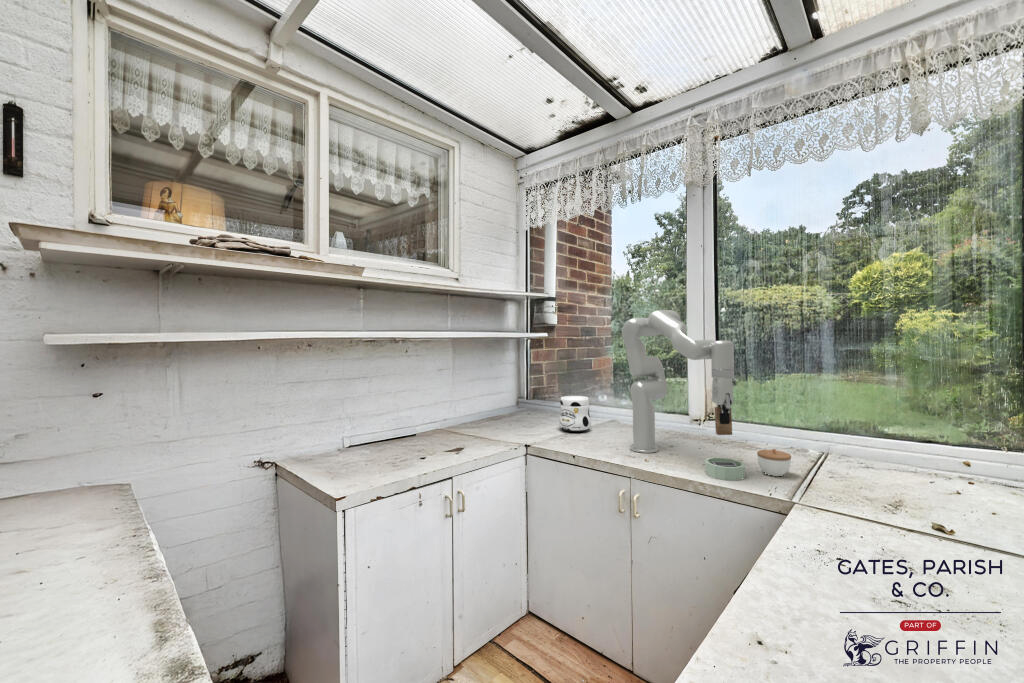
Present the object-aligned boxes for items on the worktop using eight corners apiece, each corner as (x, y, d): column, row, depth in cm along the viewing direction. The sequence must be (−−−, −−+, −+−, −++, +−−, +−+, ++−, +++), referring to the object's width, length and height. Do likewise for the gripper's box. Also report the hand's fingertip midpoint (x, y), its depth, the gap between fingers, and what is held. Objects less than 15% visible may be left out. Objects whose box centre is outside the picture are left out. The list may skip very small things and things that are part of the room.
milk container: (558, 433, 227) (557, 400, 227) (560, 426, 244) (559, 395, 244) (591, 434, 225) (590, 400, 224) (590, 427, 242) (590, 395, 241)
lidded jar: (796, 479, 152) (796, 453, 152) (763, 478, 155) (763, 452, 154) (783, 470, 163) (783, 445, 163) (753, 469, 165) (753, 444, 165)
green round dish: (701, 468, 167) (701, 456, 167) (736, 469, 165) (736, 457, 165) (711, 479, 154) (711, 467, 154) (750, 480, 152) (750, 468, 152)
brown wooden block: (715, 433, 161) (714, 406, 160) (729, 433, 160) (728, 406, 160) (717, 435, 158) (716, 408, 158) (732, 434, 157) (731, 407, 157)
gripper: (705, 371, 167) (706, 418, 167) (719, 375, 151) (719, 427, 152) (726, 371, 166) (726, 419, 166) (741, 375, 150) (742, 427, 150)
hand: (723, 422), depth 159 cm, fingers closed on brown wooden block, 2 cm apart
